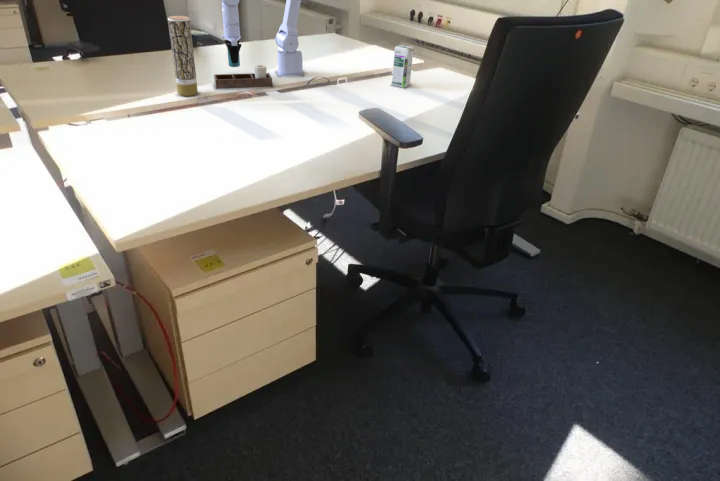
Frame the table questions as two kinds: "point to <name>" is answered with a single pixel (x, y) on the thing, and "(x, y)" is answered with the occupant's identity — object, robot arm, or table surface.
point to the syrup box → (402, 66)
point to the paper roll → (231, 62)
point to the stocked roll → (260, 71)
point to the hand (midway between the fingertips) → (234, 61)
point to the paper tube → (183, 55)
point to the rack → (241, 81)
